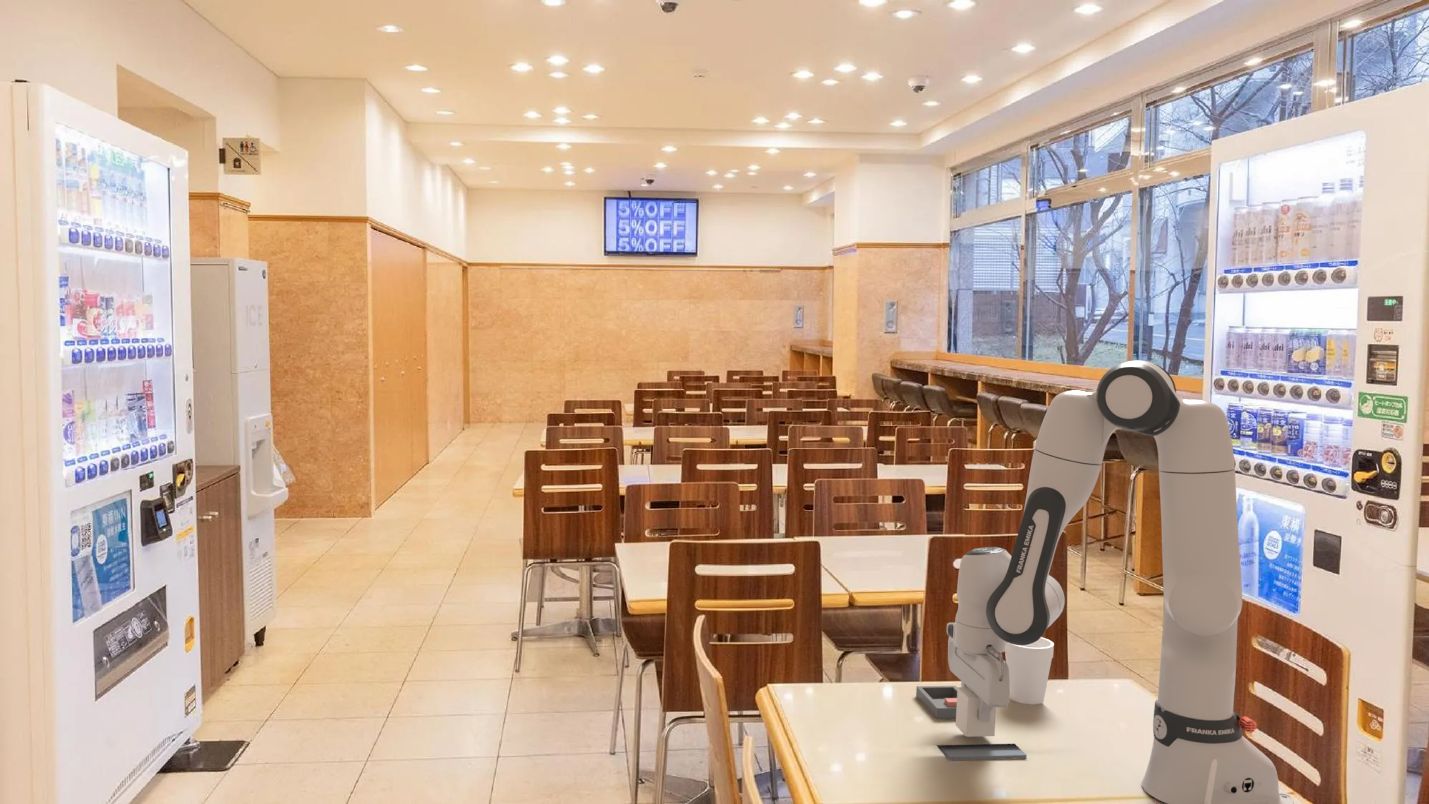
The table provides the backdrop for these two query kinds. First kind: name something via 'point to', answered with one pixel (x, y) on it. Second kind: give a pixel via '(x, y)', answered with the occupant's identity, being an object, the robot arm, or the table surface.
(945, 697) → the power strip
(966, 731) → the block
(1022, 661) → the foam cup
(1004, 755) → the rubber mat
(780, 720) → the table surface
